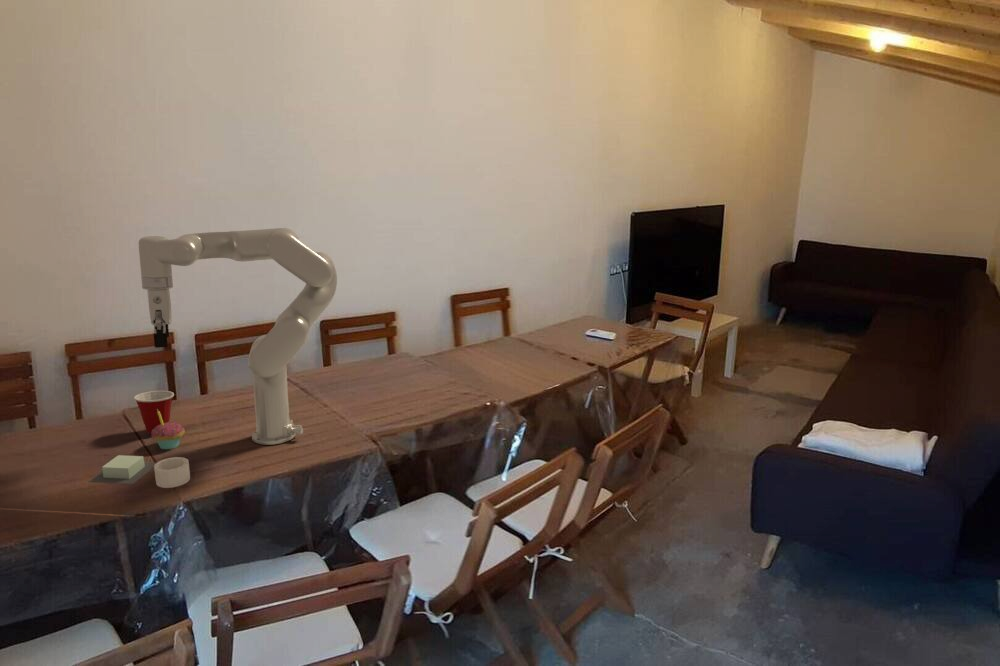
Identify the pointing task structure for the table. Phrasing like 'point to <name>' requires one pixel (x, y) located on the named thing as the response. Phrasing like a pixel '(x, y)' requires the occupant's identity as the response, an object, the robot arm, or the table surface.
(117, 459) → the block
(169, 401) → the plastic cup
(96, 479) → the mat
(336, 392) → the table surface
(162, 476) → the bowl
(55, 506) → the table surface
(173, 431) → the cupcake
